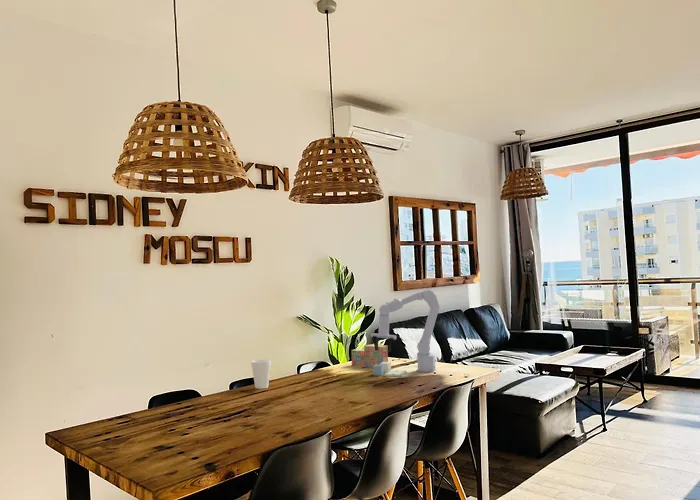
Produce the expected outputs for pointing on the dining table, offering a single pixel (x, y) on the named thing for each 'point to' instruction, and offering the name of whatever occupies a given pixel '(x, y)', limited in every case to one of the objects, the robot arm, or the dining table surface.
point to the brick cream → (386, 366)
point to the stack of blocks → (369, 356)
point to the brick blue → (378, 370)
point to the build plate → (395, 373)
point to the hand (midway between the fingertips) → (382, 351)
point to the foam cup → (261, 372)
